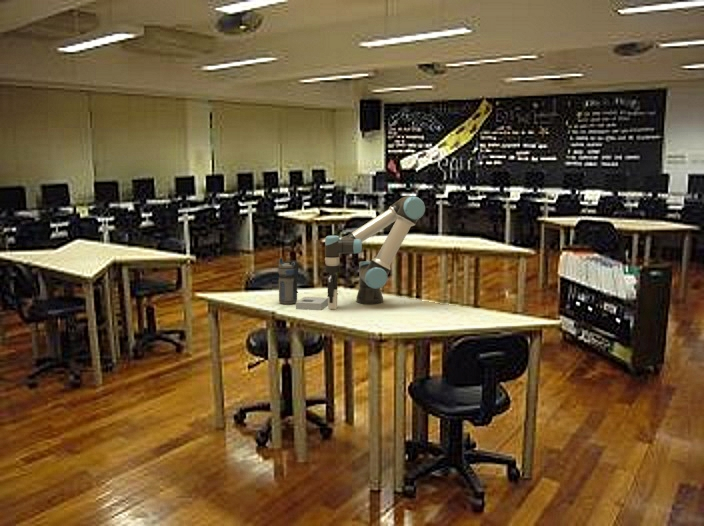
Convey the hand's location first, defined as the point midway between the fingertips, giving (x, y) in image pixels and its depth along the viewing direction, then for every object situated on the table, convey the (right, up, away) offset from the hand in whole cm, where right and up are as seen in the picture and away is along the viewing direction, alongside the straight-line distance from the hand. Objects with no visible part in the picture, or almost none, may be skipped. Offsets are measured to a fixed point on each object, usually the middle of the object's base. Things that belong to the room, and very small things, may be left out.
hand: (332, 307), depth 335 cm
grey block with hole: (-11, 0, +5) cm, 12 cm away
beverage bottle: (-25, +1, +14) cm, 28 cm away
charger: (0, 0, 0) cm, 0 cm away
